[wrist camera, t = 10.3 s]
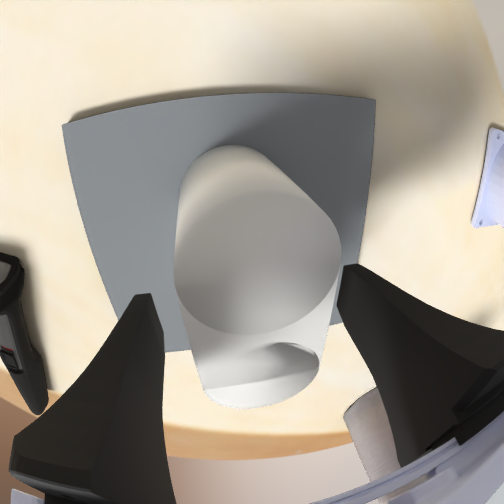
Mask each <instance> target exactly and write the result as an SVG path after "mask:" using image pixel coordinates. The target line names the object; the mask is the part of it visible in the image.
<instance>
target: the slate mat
mask: <svg viewBox="0 0 504 504" xmlns="http://www.w3.org/2000/svg"><path fill="white" fill-rule="evenodd" d="M375 105H376V100H374V99H367V98H358V97H349V96H338V95H325V94H307V93H245V94H227V95H213V96H203V97H193V98H185V99H177V100H170V101H163V102H157V103H151V104H145V105H140V106H134V107H129V108H125V109H120V110H115V111H111V112H107V113H103V114H99V115H95V116H91V117H87V118H84V119H80V120H77V121H73V122H70V123H66V124H63V125H62V130H63V137H64V143H65V149H66V154H67V159H68V164H69V169H70V174H71V178H72V183H73V187H74V191H75V195H76V199H77V203H78V207H79V210H80V214H81V218H82V221H83V224H84V228H85V231H86V234H87V238H88V241H89V244H90V247H91V250H92V253H93V256H94V259H95V262H96V265H97V267H98V270H99V273H100V276H101V278H102V281H103V284H104V286H105V289H106V291H107V294H108V296H109V299H110V301H111V304H112V306H113V308H114V311H115V313H116V315H117V318H118V320H119V319H120V318H121V316H122V314H123V313H124V311H125V309H126V308H127V306H128V304H129V303H130V301H131V300H132V298H133V297H134V295H136V294H145V293H151V295H152V298H153V301H154V304H155V308H156V311H157V314H158V317H159V320H160V323H161V326H162V328H163V331H164V346H165V352H174V351H184V350H191V347H190V343H189V340H188V336H187V332H186V329H185V325H184V321H183V317H182V313H181V309H180V305H179V301H178V297H177V293H176V289H175V284H174V254H175V240H176V227H177V216H178V205H179V196H180V187H181V183H182V180H183V177H184V175H185V173H186V171H187V169H188V168H189V167H190V165H191V164H192V163H193V162H194V161H195V160H196V159H197V158H198V157H199V156H200V155H202V154H203V153H205V152H207V151H208V150H211V149H213V148H216V147H219V146H224V145H243V146H247V147H250V148H253V149H255V150H257V151H259V152H260V153H262V154H263V155H264V156H266V157H267V158H268V159H269V160H270V161H271V162H272V163H274V164H275V165H276V166H277V167H278V168H279V169H280V170H281V171H282V172H283V173H284V174H286V175H287V176H288V177H289V178H290V179H291V180H292V181H293V182H294V183H295V184H296V185H297V186H298V187H299V188H300V189H301V190H303V191H304V192H305V193H306V194H307V195H308V196H309V197H310V198H311V199H312V200H313V201H314V202H315V203H316V204H317V205H318V206H319V207H320V208H321V209H322V210H323V211H324V212H325V213H326V214H327V216H328V217H329V218H330V219H331V221H332V222H333V224H334V226H335V227H336V230H337V232H338V235H339V238H340V243H341V253H342V255H341V265H340V271H339V276H338V282H337V287H336V293H335V298H334V303H333V308H332V313H331V318H330V323H329V326H330V325H334V324H338V323H342V322H343V321H342V318H341V316H340V314H339V311H338V308H337V306H336V304H337V299H338V294H339V289H340V283H341V278H342V272H343V266H344V265H350V264H356V263H357V262H358V257H359V251H360V245H361V240H362V234H363V228H364V221H365V214H366V207H367V200H368V192H369V184H370V175H371V165H372V154H373V142H374V127H375Z"/></svg>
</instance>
